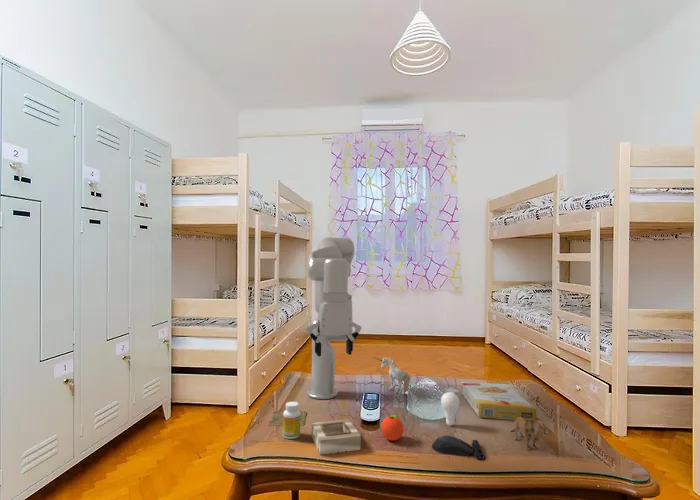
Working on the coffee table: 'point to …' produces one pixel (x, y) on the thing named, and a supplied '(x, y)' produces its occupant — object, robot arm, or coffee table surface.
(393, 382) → the unicorn figurine
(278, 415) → the cookie
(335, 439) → the socket block
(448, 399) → the lightbulb
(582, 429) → the coffee table surface
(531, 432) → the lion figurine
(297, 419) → the supplement bottle
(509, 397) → the cereal box
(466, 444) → the black computer mouse
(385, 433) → the clementine
